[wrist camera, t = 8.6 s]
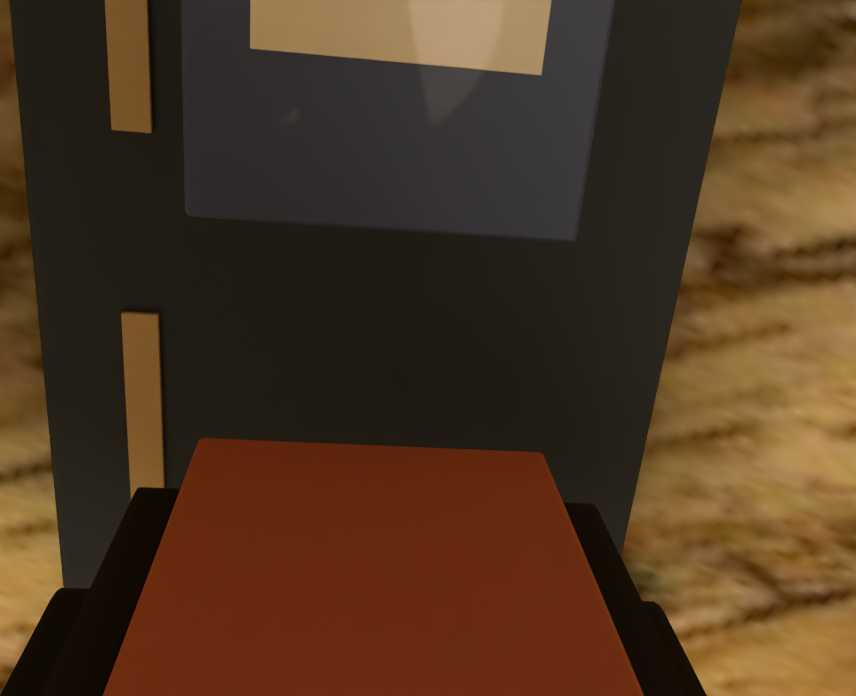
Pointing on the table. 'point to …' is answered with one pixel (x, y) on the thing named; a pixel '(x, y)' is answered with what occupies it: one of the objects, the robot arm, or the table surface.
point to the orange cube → (369, 579)
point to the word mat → (342, 281)
